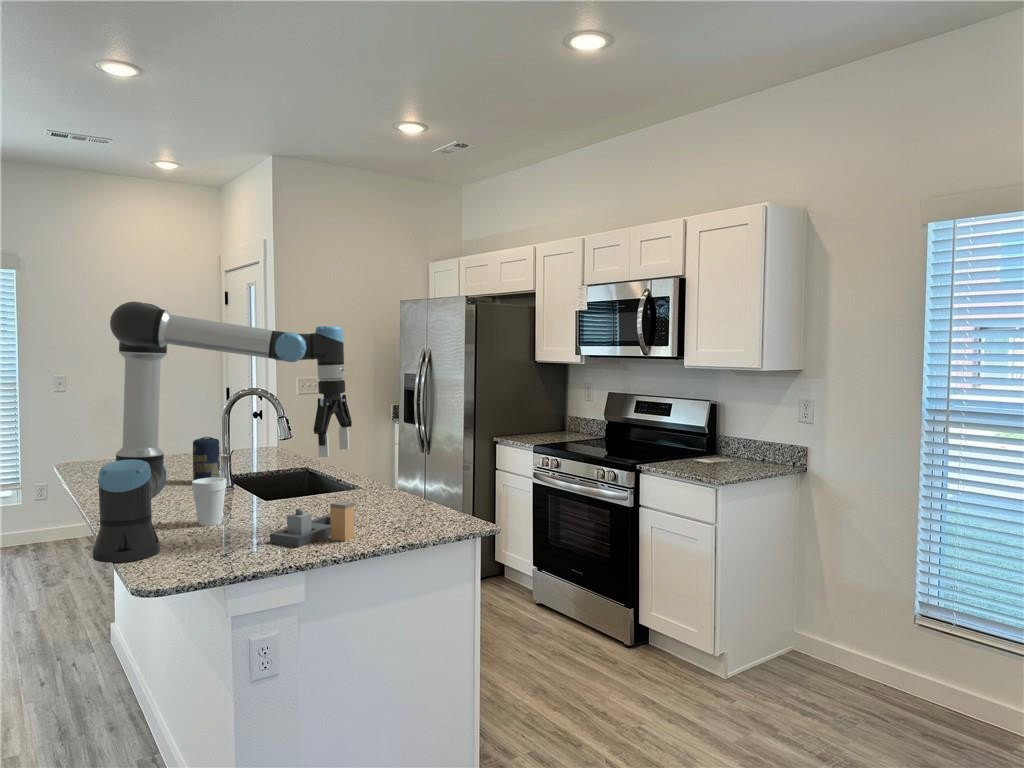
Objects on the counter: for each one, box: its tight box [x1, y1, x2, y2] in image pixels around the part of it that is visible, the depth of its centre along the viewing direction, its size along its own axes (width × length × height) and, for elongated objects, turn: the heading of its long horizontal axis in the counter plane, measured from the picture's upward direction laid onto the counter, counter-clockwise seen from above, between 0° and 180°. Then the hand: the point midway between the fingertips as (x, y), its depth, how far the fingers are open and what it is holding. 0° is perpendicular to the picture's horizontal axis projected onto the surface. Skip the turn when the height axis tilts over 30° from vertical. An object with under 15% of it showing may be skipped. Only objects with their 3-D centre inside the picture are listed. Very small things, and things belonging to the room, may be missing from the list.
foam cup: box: [191, 477, 227, 527], centre depth 215 cm, size 10×9×13 cm
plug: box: [329, 500, 355, 542], centre depth 199 cm, size 4×5×10 cm
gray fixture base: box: [269, 508, 356, 548], centre depth 203 cm, size 24×10×8 cm, turn 155°
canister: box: [192, 436, 221, 481], centre depth 275 cm, size 10×10×18 cm
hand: (334, 452), depth 208 cm, fingers open, 13 cm apart
